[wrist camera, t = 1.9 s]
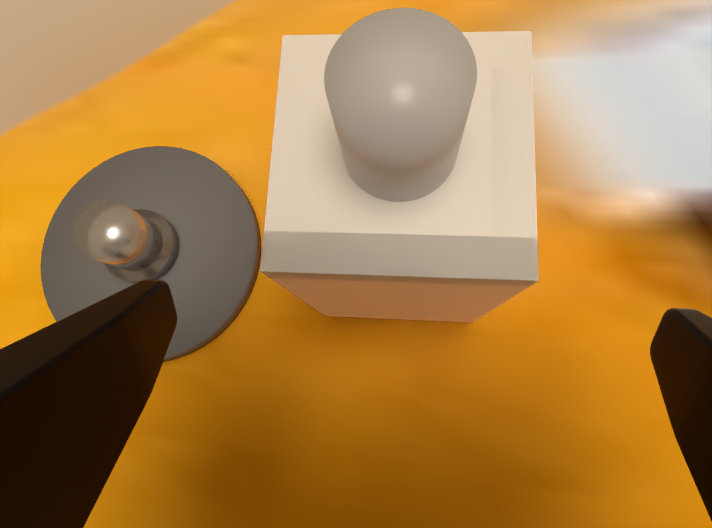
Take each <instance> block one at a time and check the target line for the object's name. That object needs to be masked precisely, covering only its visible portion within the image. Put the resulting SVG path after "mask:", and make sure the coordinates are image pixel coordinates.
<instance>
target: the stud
mask: <svg viewBox="0 0 712 528" xmlns="http://www.w3.org/2000/svg"><path fill="white" fill-rule="evenodd" d="M73 239H74V242H75V245H76V247H77V248H78V250H79V251H80V252H81V253H82V254H84V255H85V256H87V257H89V258H92V259H95V260H98V261H101V262H104V264H105V266H106V268H107V269H108V270H109V271H110V272H111V273H112V274H113V275H115V276H116V277H118V278H120V279H123V280H126V281H129V282H133V283H138V282H140V281H142V280H145V279H151V280H155V279H157V278H159V277H160V276H162V275H163V274H164V273H165V272H167V270H168V269H169V268H170V267H171V265H172V264H173V262H174V260H175V258H176V255H177V251H178V237H177V233H176V231H175V229H174V227H173V226H172V225H171V223H170V222H169V221H168V220H166V219H165V218H163V217H162V216H160V215H159V214H157V213H155V212H153V211H150V210H145V209H138V210H132V209H131V208H129V207H127V206H125V205H124V204H122V203H120V202H118V201H116V200H112V199H102V200H98V201H95V202H93V203H91V204H89V205H88V206H87V207H85V208H84V209H83V210H82V211H81V213H80V214H79V215H78V217H77V219H76V221H75V224H74V228H73Z"/></svg>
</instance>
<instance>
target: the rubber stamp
mask: <svg viewBox="0 0 712 528" xmlns="http://www.w3.org/2000/svg"><path fill="white" fill-rule="evenodd" d="M260 272H262V273H263V274H265V275H266V276H268V277H269V278H271V279H272V280H273V281H275V282H276V283H278V284H279V285H281V286H282V287H284V288H285V289H287V290H288V291H289V292H291V293H292V294H294V295H295V296H297V297H298V298H300V299H301V300H302V301H304V302H305V303H307V304H308V305H310V306H311V307H313V308H314V309H315V310H317V311H318V312H320V313H321V314H323V315H324V316H330V317H354V318H377V319H400V320H423V321H447V322H470V323H473V322H475V321H476V320H478V319H479V318H481V317H482V316H484V315H486V314H487V313H489V312H490V311H492V310H493V309H495V308H497V307H498V306H500V305H501V304H503V303H504V302H506V301H508V300H509V299H511V298H512V297H514V296H515V295H517V294H519V293H520V292H522V291H523V290H525V289H526V288H528V287H530V286H531V285H533V284H534V283H536V282H537V281H539V279H538V244H537V209H536V175H535V140H534V105H533V71H532V36H531V31H506V32H461V31H460V30H459V29H458V28H457V27H455V26H454V25H453V24H452V23H450V22H449V21H448V20H446V19H444V18H442V17H441V16H439V15H436V14H434V13H431V12H428V11H424V10H420V9H413V8H394V9H388V10H383V11H379V12H376V13H373V14H371V15H369V16H366V17H364V18H362V19H361V20H359V21H357V22H356V23H354V24H353V25H352V26H350V27H349V28H348V29H347V30H346V31H345V32H344V33H343V34H334V35H283V40H282V50H281V60H280V71H279V81H278V92H277V102H276V112H275V123H274V133H273V144H272V154H271V164H270V175H269V185H268V195H267V206H266V216H265V227H264V237H263V247H262V258H261V268H260Z"/></svg>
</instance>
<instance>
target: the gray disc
mask: <svg viewBox="0 0 712 528" xmlns="http://www.w3.org/2000/svg"><path fill="white" fill-rule="evenodd" d="M102 199H112V200H116V201H118V202H120V203H122V204H124V205H125V206H127V207H129V208H131V209H132V210H138V209H145V210H150V211H153V212H155V213H157V214H159V215H160V216H162V217H163V218H165V219H166V220H168V221H169V222H170V223H171V225H172V226H173V227H174V229H175V231H176V233H177V237H178V251H177V255H176V258H175V260H174V262H173V264H172V265H171V267H170V268H169V269H168V270H167V272H165V273H164V274H163V275H162V276H160V277H159V278H157V279H155V280H164V281H166V282H167V283H168V285H169V287H170V290H171V294H172V297H173V301H174V305H175V308H176V312H177V325H176V329H175V331H174V334H173V337H172V339H171V342H170V345H169V347H168V350H167V353H166V355H165V358H164V361H167V360H171V359H176V358H179V357H181V356H184V355H187V354H190V353H192V352H194V351H196V350H198V349H199V348H201V347H203V346H205V345H206V344H208V343H209V342H211V341H212V340H213V339H215V338H216V337H217V336H218V335H219V334H221V333H222V332H223V331H224V330H225V329H226V328H227V327H228V326H229V325H230V324H231V323H232V321H233V320H234V319H235V318H236V317H237V315H238V314H239V312H240V311H241V310H242V308H243V307H244V305H245V303H246V301H247V299H248V298H249V296H250V294H251V292H252V289H253V286H254V284H255V281H256V278H257V274H258V269H259V265H260V256H261V237H260V231H259V225H258V221H257V218H256V215H255V212H254V210H253V208H252V205H251V203H250V201H249V199H248V198H247V196H246V195H245V193H244V192H243V190H242V189H241V188H240V187H239V186H238V185H237V183H236V182H235V181H234V180H233V179H232V178H231V177H230V176H229V174H228V173H227V172H226V171H224V170H223V169H222V168H221V167H220V166H219V165H217V164H216V163H214V162H213V161H211V160H210V159H208V158H206V157H204V156H202V155H200V154H197V153H195V152H192V151H189V150H185V149H182V148H175V147H166V146H154V147H145V148H139V149H135V150H131V151H127V152H125V153H122V154H119V155H117V156H114V157H112V158H110V159H108V160H107V161H105V162H103V163H101V164H100V165H98V166H97V167H95V168H94V169H92V170H91V171H90V172H88V173H87V174H86V175H85V176H84V177H82V178H81V179H80V180H79V181H78V182H77V183H76V184H75V185H74V186H73V187H72V188H71V190H70V191H69V192H68V193H67V195H66V196H65V197H64V199H63V200H62V201H61V203H60V205H59V206H58V208H57V210H56V211H55V213H54V215H53V218H52V220H51V222H50V224H49V227H48V230H47V233H46V236H45V239H44V244H43V249H42V257H41V279H42V285H43V290H44V295H45V298H46V301H47V304H48V306H49V308H50V310H51V312H52V314H53V316H54V318H55V320H56V321H60V320H62V319H64V318H66V317H68V316H70V315H72V314H74V313H76V312H78V311H80V310H82V309H84V308H86V307H88V306H90V305H92V304H94V303H96V302H99V301H101V300H103V299H105V298H107V297H109V296H111V295H113V294H115V293H117V292H119V291H121V290H123V289H125V288H127V287H129V286H131V285H133V284H135V283H133V282H129V281H126V280H123V279H120V278H118V277H116V276H115V275H113V274H112V273H111V272H110V271H109V270H108V269H107V268H106V266H105V264H104V262H101V261H98V260H95V259H92V258H89V257H87V256H85V255H84V254H82V253H81V252H80V251H79V250H78V248H77V247H76V245H75V242H74V239H73V228H74V224H75V221H76V219H77V217H78V215H79V214H80V213H81V211H82V210H83V209H84V208H85V207H87V206H88V205H89V204H91V203H93V202H95V201H98V200H102Z"/></svg>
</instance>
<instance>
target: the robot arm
mask: <svg viewBox="0 0 712 528" xmlns="http://www.w3.org/2000/svg"><path fill="white" fill-rule="evenodd" d="M176 325H177V312H176V308H175V305H174V301H173V297H172V294H171V290H170V287H169V285H168V283H167V282H166V281H164V280H151V279H145V280H142V281H140V282H138V283H135V284H133V285H131V286H129V287H127V288H125V289H123V290H121V291H119V292H117V293H115V294H113V295H111V296H109V297H107V298H105V299H103V300H101V301H99V302H96V303H94V304H92V305H90V306H88V307H86V308H84V309H82V310H80V311H78V312H76V313H74V314H72V315H70V316H68V317H66V318H64V319H62V320H60V321H57V322H55V323H53V324H51V325H49V326H47V327H45V328H43V329H41V330H39V331H37V332H35V333H33V334H31V335H29V336H27V337H25V338H23V339H21V340H18V341H16V342H14V343H12V344H10V345H8V346H6V347H4V348H2V349H0V528H83V527H84V525H85V523H86V521H87V519H88V517H89V515H90V513H91V511H92V509H93V507H94V505H95V503H96V501H97V499H98V497H99V495H100V493H101V491H102V489H103V487H104V485H105V484H106V482H107V480H108V478H109V476H110V474H111V472H112V470H113V468H114V466H115V464H116V462H117V460H118V458H119V456H120V454H121V452H122V450H123V448H124V446H125V444H126V442H127V440H128V438H129V436H130V434H131V432H132V430H133V428H134V426H135V424H136V422H137V420H138V419H139V417H140V415H141V413H142V411H143V409H144V407H145V405H146V403H147V400H148V398H149V396H150V394H151V392H152V389H153V387H154V384H155V382H156V379H157V377H158V374H159V371H160V369H161V366H162V363H163V361H164V358H165V355H166V353H167V350H168V347H169V345H170V342H171V339H172V337H173V334H174V331H175V329H176ZM650 355H651V360H652V363H653V366H654V370H655V373H656V376H657V380H658V383H659V386H660V389H661V393H662V396H663V399H664V403H665V406H666V409H667V413H668V416H669V419H670V422H671V425H672V428H673V431H674V434H675V437H676V439H677V442H678V444H679V447H680V449H681V452H682V454H683V456H684V459H685V461H686V463H687V465H688V468H689V470H690V472H691V475H692V477H693V479H694V482H695V484H696V486H697V489H698V491H699V493H700V495H701V498H702V500H703V502H704V505H705V507H706V509H707V512H708V514H709V516H710V519H711V521H712V318H710V317H709V316H707V315H705V314H703V313H701V312H700V311H697V310H694V309H680V308H671V309H669V310H667V311H666V312H665V313H664V315H663V317H662V319H661V322H660V324H659V326H658V329H657V331H656V333H655V336H654V338H653V340H652V343H651V347H650Z"/></svg>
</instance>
